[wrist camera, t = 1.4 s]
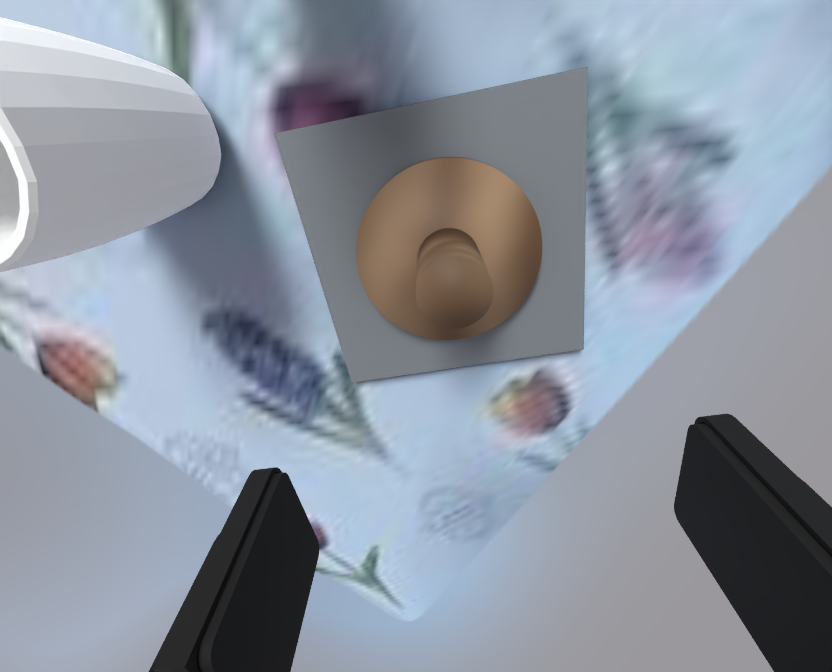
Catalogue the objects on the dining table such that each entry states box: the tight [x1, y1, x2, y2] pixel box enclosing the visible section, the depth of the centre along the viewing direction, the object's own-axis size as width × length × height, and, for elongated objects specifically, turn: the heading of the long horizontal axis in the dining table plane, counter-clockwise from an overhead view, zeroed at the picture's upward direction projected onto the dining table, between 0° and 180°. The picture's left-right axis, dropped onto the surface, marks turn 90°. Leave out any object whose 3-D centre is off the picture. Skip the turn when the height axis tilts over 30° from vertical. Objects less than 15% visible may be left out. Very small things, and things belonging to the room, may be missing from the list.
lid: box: [356, 157, 542, 340], centre depth 24 cm, size 12×12×7 cm
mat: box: [275, 67, 588, 383], centre depth 27 cm, size 18×18×1 cm
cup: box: [0, 18, 221, 272], centre depth 18 cm, size 8×8×14 cm
